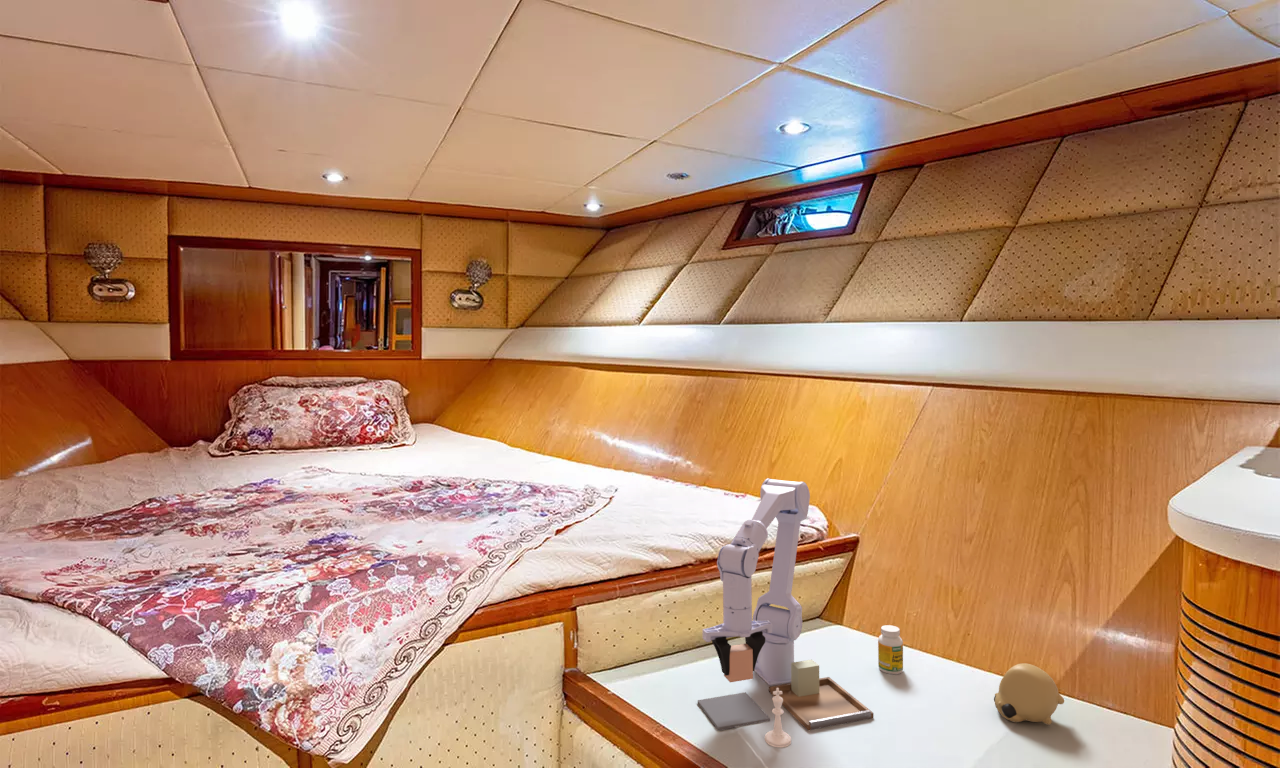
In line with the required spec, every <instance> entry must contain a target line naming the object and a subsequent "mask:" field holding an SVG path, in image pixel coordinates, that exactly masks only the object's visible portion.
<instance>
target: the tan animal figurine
mask: <svg viewBox="0 0 1280 768" xmlns="http://www.w3.org/2000/svg"><path fill="white" fill-rule="evenodd" d="M993 701H994V702H993V703H994V706H995V708H996V709H997V710H996V711H998V712H999V714H1000V715H1001V716H1002V717H1003V718H1004V719H1006V720H1007V721H1010V722H1013V723H1021V722H1025V721H1027V722H1032V723H1041V722H1042V723H1044V724H1045V725H1047V726H1049V725H1051V724H1052V722H1053V719H1052V715H1053V714H1054V713H1055V711H1056V710H1057V709H1058V705H1064V703H1065V698H1064V697H1063V696H1062V695H1061V694H1060V693H1059V689H1058V686H1057V684H1056V682H1055V681H1054V679H1053V678H1052V676H1050V675H1049V674H1048V673H1047V672H1046V671H1044V669H1041V668H1040V667H1038V666H1036V665H1034V664H1030V663H1026V662H1025V663H1017V664H1015V665H1012V666H1011V667H1010V668H1009V669H1008V670H1006V672H1005V674H1004V675H1003V676H1002V678H1001V680H1000V682H999V685H998V692H996V693H994V696H993Z"/></svg>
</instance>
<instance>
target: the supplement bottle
mask: <svg viewBox="0 0 1280 768" xmlns="http://www.w3.org/2000/svg"><path fill="white" fill-rule="evenodd" d="M900 631H901V630H900V627H898V626H895V625H890V624H887V625H882V626H881V627H880V635H879V636H878V639H877V646H878V647H877V653H878V654H877V657H878V661H877V662H878V669H879V670H880V671H881V672H883V673H885V674H890V675H899V674H901V673H902V672H903V671H904V642H903V639H902V637H901V636H900V635H901V632H900Z"/></svg>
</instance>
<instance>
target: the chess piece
mask: <svg viewBox="0 0 1280 768" xmlns="http://www.w3.org/2000/svg"><path fill="white" fill-rule="evenodd" d="M779 694H782V691H779V688H776V691H773V695H776V696H773V695H772V698H771V699H772V703H773V708H772V710H771V713H772V714H774V724H773V729H772V730H769V731H768V732H766V733H765V735H764V741H765V743H767V744H768V745H769V746H771V747H775V748H786V747H789V745H791V744H792V737H791V735H790V734H789V733H788V732H786V731H784V730H783V725H782V724H783V723H782V717H781V715H783V714H784V709H783V708H782V706H783V705H782V703H783V698H782V697H780V696H779Z"/></svg>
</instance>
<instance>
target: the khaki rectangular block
mask: <svg viewBox="0 0 1280 768" xmlns="http://www.w3.org/2000/svg"><path fill="white" fill-rule="evenodd" d="M819 678H820V664H818V663H817V662H815V660H813V659H807V660H801V661H794V662H793V663H791V690H792V691H793V692H794V693H795V694H796V695H797V696H798V697H800V696H806V695H812V694H818V693H819Z"/></svg>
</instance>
